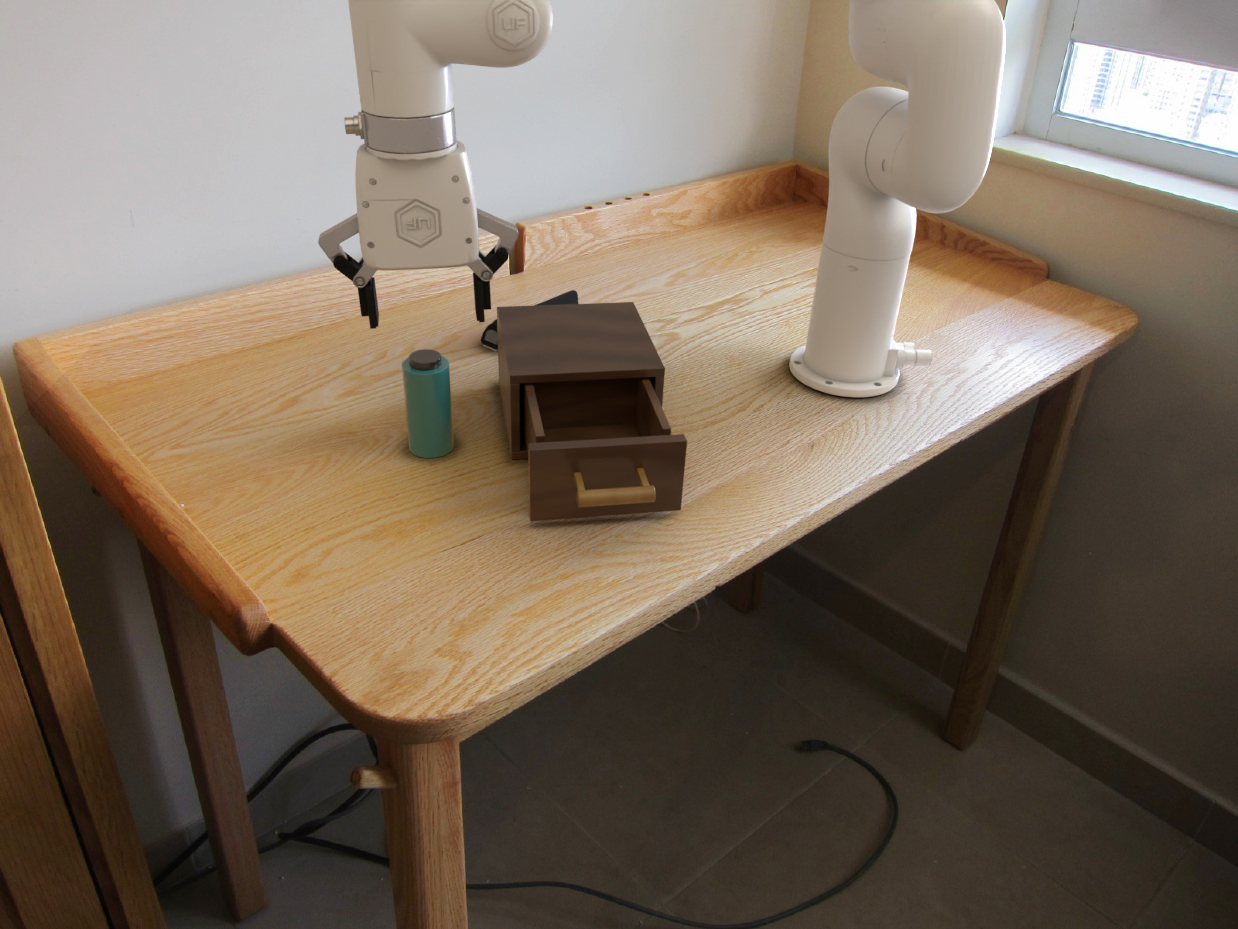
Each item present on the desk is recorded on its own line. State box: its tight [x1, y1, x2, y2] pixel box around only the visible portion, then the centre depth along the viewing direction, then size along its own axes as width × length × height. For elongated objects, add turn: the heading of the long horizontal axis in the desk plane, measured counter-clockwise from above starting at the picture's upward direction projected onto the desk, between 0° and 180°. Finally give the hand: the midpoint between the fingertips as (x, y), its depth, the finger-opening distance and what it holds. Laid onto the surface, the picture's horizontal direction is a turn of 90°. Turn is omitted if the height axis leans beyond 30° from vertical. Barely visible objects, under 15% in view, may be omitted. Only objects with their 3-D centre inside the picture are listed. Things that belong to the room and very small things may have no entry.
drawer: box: [522, 377, 688, 522], centre depth 89 cm, size 19×14×7 cm
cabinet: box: [496, 301, 666, 460], centre depth 101 cm, size 16×15×9 cm
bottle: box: [401, 348, 455, 459], centre depth 95 cm, size 4×4×10 cm
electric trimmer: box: [480, 289, 579, 352], centre depth 121 cm, size 4×16×3 cm, turn 142°
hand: (427, 319), depth 91 cm, fingers open, 9 cm apart
